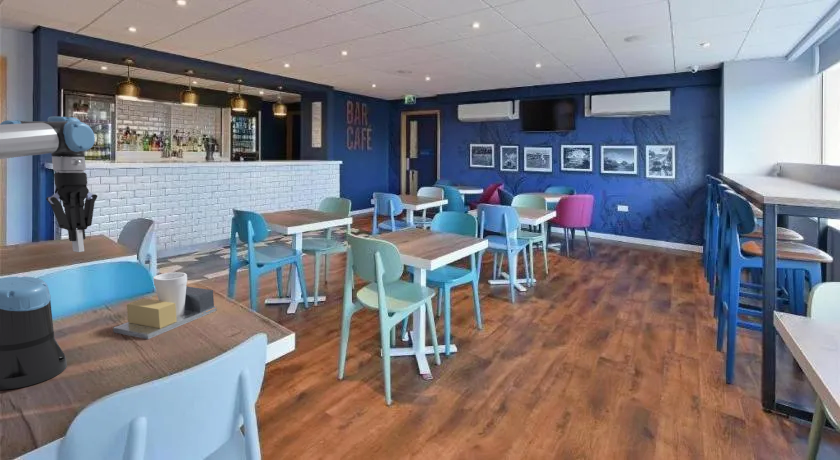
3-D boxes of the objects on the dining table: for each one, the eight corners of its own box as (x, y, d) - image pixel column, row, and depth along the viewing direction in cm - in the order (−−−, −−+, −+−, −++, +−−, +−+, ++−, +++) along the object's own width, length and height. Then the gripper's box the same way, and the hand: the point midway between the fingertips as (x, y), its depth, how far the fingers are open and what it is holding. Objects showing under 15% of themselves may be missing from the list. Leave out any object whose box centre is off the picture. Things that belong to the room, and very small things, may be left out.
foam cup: (194, 309, 150) (192, 272, 148) (179, 319, 141) (177, 280, 139) (167, 309, 150) (164, 272, 148) (150, 318, 141) (147, 279, 139)
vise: (148, 339, 129) (146, 314, 128) (113, 332, 134) (111, 308, 133) (216, 310, 154) (215, 289, 153) (185, 305, 159) (183, 285, 158)
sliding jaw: (159, 328, 134) (158, 309, 133) (128, 322, 138) (126, 303, 137) (176, 321, 139) (175, 303, 138) (145, 316, 143) (144, 298, 142)
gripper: (54, 172, 121) (63, 256, 125) (101, 171, 133) (109, 248, 137) (36, 171, 124) (45, 254, 127) (84, 170, 136) (92, 246, 140)
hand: (78, 251), depth 132 cm, fingers closed
